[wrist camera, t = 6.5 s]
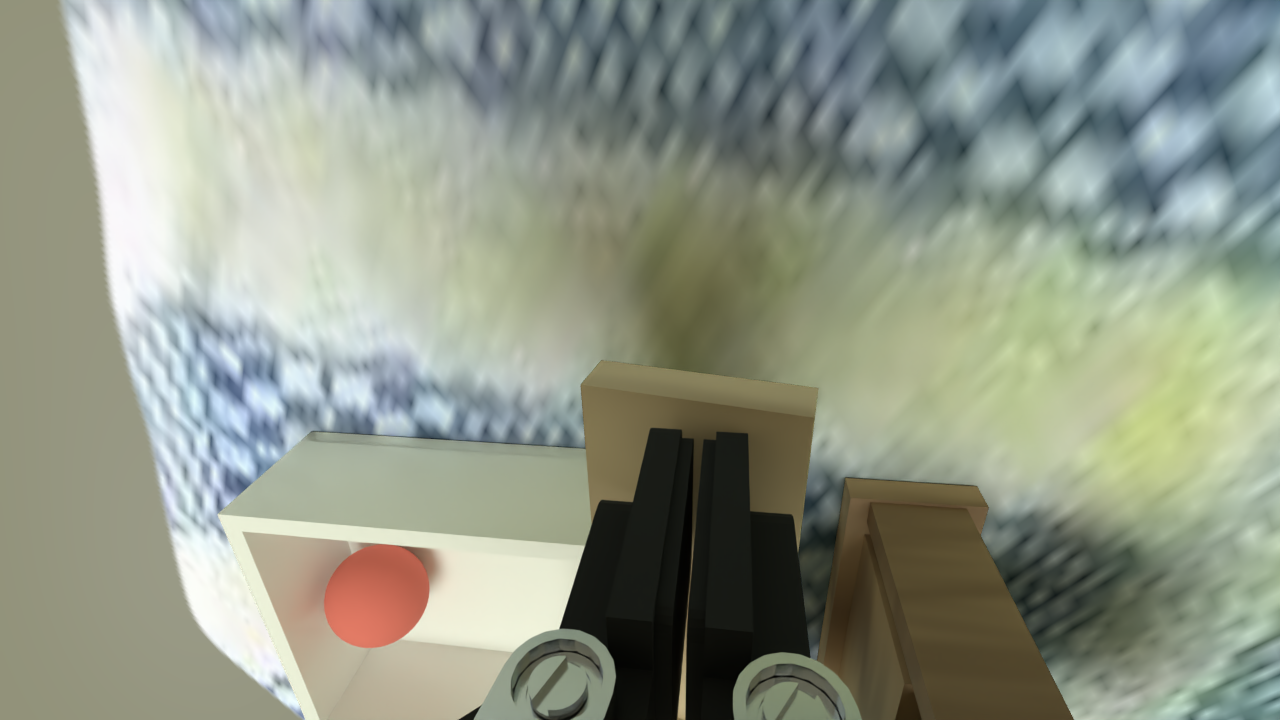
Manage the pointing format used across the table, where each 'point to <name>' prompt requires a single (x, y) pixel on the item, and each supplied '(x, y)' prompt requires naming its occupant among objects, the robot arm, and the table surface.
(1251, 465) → the table surface
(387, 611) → the ball
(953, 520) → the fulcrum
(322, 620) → the dish
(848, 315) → the table surface
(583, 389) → the lever
